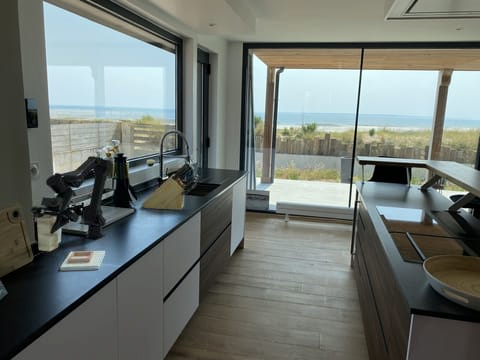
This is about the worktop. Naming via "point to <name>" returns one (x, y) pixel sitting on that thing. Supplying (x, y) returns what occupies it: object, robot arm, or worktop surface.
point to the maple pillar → (47, 233)
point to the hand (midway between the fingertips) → (45, 232)
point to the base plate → (83, 260)
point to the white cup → (59, 235)
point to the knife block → (172, 191)
